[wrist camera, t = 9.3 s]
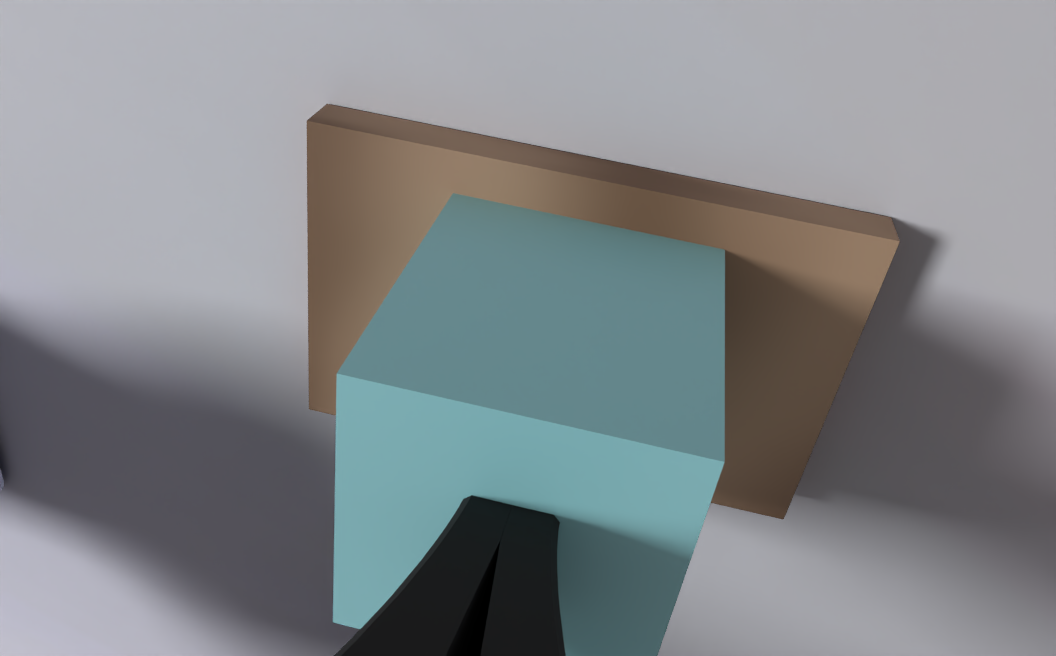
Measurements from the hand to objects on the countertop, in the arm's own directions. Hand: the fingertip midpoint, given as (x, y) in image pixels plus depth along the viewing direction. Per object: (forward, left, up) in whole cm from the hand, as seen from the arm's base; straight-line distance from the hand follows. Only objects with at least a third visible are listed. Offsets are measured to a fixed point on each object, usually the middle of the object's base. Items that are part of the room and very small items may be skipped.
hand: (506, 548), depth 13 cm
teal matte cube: (0, 0, -6) cm, 6 cm away
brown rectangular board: (0, 0, -7) cm, 7 cm away
